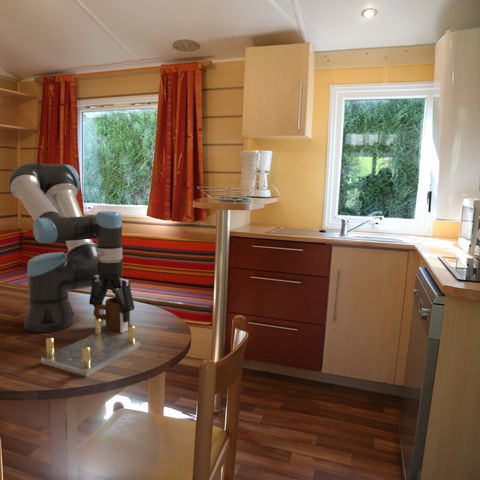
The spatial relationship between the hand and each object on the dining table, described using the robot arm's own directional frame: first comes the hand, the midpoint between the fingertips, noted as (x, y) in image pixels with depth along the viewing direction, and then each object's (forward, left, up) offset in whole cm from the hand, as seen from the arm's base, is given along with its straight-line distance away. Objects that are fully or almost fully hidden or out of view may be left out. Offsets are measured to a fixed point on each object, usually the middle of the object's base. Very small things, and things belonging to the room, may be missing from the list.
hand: (112, 328), depth 128 cm
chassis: (+9, -17, 0) cm, 19 cm away
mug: (0, 0, 0) cm, 0 cm away
